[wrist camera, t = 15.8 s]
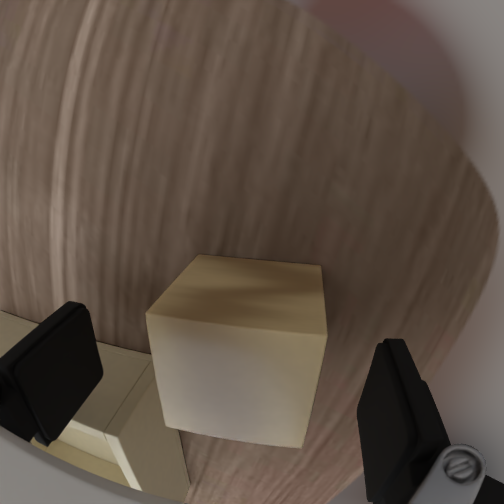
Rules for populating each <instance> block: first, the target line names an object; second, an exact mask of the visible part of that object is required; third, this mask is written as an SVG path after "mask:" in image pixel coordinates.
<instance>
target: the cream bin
mask: <svg viewBox="0 0 504 504" xmlns="http://www.w3.org/2000/svg"><path fill="white" fill-rule="evenodd" d="M38 325H39V324H37V323H34V322H31V321H28V320H25V319H22V318H20V317H17V316H14V315H11V314H9V313H6V312H3V311H0V358H1V357H2V356H3V355H4V354H5V353H6V352H7V351H9V350H10V349H11V348H12V347H13V346H14V345H15V344H17V343H18V342H19V341H20V340H21V339H23V338H24V337H25V336H26V335H27V334H28V333H30V332H31V331H32V330H33V329H34V328H36V327H37V326H38ZM96 343H97V347H98V351H99V355H100V359H101V363H102V366H103V371H104V373H103V377H102V379H101V381H100V382H99V383H98V385H97V386H96V387H95V389H94V390H93V391H92V393H91V394H90V395H89V397H88V398H87V399H86V400H85V402H84V403H83V404H82V406H81V407H80V409H79V410H78V411H77V413H76V414H75V415H74V417H73V418H72V419H71V421H70V422H69V423H68V425H67V426H66V427H65V429H64V430H63V432H62V433H61V434H60V436H59V437H58V438H57V440H55V441H52V442H51V444H50V445H49V446H48V447H46V446H44V445H42V444H40V443H39V442H37V441H36V440H35V438H34V437H33V438H32V440H31V442H32V445H34V446H36V447H38V448H40V449H41V450H43V451H45V452H47V453H49V454H51V455H53V456H55V457H57V458H59V459H61V460H63V461H66V462H68V463H70V464H72V465H74V466H76V467H79V468H81V469H83V470H86V471H88V472H90V473H93V474H95V475H98V476H100V477H103V478H105V479H108V480H111V481H113V482H116V483H119V484H122V485H124V486H127V487H130V488H133V489H136V490H140V491H143V492H146V493H149V494H153V495H156V496H160V497H163V498H167V499H171V500H175V501H179V502H183V503H184V501H185V498H186V496H187V493H188V489H189V487H190V481H189V477H188V473H187V468H186V464H185V459H184V455H183V450H182V445H181V441H180V436H179V431H178V429H175V428H171V427H167V426H165V421H164V417H163V412H162V408H161V403H160V398H159V393H158V388H157V383H156V378H155V373H154V367H153V361H152V355H150V354H146V353H141V352H137V351H133V350H128V349H124V348H120V347H116V346H112V345H108V344H104V343H100V342H97V341H96Z"/></svg>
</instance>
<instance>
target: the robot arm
mask: <svg viewBox="0 0 504 504" xmlns="http://www.w3.org/2000/svg"><path fill="white" fill-rule="evenodd" d="M103 373H104V371H103V366H102V363H101V359H100V355H99V351H98V347H97V343H96V339H95V335H94V331H93V326H92V322H91V317H90V313H89V311H88V309H86V306H85V305H84V304H82V303H77V302H72V301H68V302H67V303H65V304H64V305H63V306H62V307H60V308H59V309H58V310H57V311H55V312H54V313H53V314H52V315H50V316H49V317H48V318H47V319H45V320H44V321H43V322H42V323H41V324H39V325H38V326H37V327H36V328H34V329H33V330H32V331H31V332H30V333H28V334H27V335H26V336H25V337H24V338H23V339H21V340H20V341H19V342H18V343H17V344H15V345H14V346H13V347H12V348H11V349H10V350H9V351H7V352H6V353H5V354H4V355H3V356H2V357H1V358H0V504H187V503H183V502H179V501H175V500H171V499H167V498H163V497H160V496H156V495H153V494H149V493H146V492H143V491H140V490H136V489H133V488H130V487H127V486H124V485H122V484H119V483H116V482H113V481H111V480H108V479H105V478H103V477H100V476H98V475H95V474H93V473H90V472H88V471H86V470H83V469H81V468H79V467H76V466H74V465H72V464H70V463H68V462H66V461H63V460H61V459H59V458H57V457H55V456H53V455H51V454H49V453H47V452H45V451H43V450H41V449H40V448H38V447H36V446H34V445H32V442H31V440H32V438H33V437H34V438H35V440H36V441H37V442H39V443H40V444H42V445H44V446H46V447H48V446H49V445H50V444H51V442H52V441H55V440H57V438H58V437H59V436H60V434H61V433H62V432H63V430H64V429H65V427H66V426H67V425H68V423H69V422H70V421H71V419H72V418H73V417H74V415H75V414H76V413H77V411H78V410H79V409H80V407H81V406H82V404H83V403H84V402H85V400H86V399H87V398H88V397H89V395H90V394H91V393H92V391H93V390H94V389H95V387H96V386H97V385H98V383H99V382H100V381H101V379H102V377H103ZM357 420H358V427H359V434H360V442H361V450H362V458H363V466H364V475H365V484H366V495H367V500H368V502H373V504H504V484H503V483H501V482H499V481H497V480H495V479H493V478H491V477H489V476H487V475H485V474H486V469H487V467H486V461H485V459H484V457H483V455H482V454H481V453H480V452H479V451H478V450H477V449H475V448H474V447H472V446H469V445H466V444H454V445H451V444H450V441H449V438H448V435H447V433H446V430H445V428H444V425H443V422H442V419H441V417H440V414H439V412H438V409H437V407H436V404H435V402H434V399H433V397H432V395H431V392H430V390H429V387H428V385H427V384H426V382H425V381H423V380H421V377H420V375H419V373H418V370H417V368H416V366H415V363H414V361H413V359H412V357H411V354H410V352H409V350H408V348H407V345H406V343H405V341H404V340H403V339H389V338H386V339H384V341H383V343H378V344H377V347H376V350H375V353H374V357H373V360H372V364H371V367H370V370H369V373H368V376H367V380H366V383H365V386H364V389H363V392H362V395H361V398H360V401H359V404H358V407H357Z"/></svg>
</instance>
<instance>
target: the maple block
mask: <svg viewBox="0 0 504 504" xmlns="http://www.w3.org/2000/svg"><path fill="white" fill-rule="evenodd" d="M145 316H146V323H147V330H148V337H149V343H150V349H151V355H152V361H153V367H154V373H155V378H156V383H157V388H158V393H159V398H160V403H161V408H162V412H163V417H164V421H165V426H167V427H171V428H175V429H179V430H183V431H188V432H192V433H197V434H202V435H207V436H212V437H217V438H223V439H228V440H235V441H241V442H248V443H255V444H263V445H271V446H281V447H292V448H302V447H303V444H304V440H305V437H306V433H307V429H308V425H309V421H310V417H311V413H312V408H313V404H314V400H315V396H316V391H317V387H318V382H319V378H320V373H321V368H322V364H323V359H324V354H325V349H326V343H327V338H328V333H327V321H326V310H325V299H324V289H323V279H322V270H321V266H320V265H311V264H300V263H288V262H277V261H266V260H255V259H244V258H233V257H223V256H212V255H201V254H198V255H197V256H196V257H195V259H194V260H193V261H192V262H191V263H190V264H189V265H188V266H187V267H186V268H185V269H184V271H183V272H182V273H181V274H180V275H179V276H178V277H177V278H176V279H175V280H174V282H173V283H172V284H171V285H170V286H169V287H168V288H167V289H166V290H165V292H164V293H163V294H162V295H161V296H160V297H159V298H158V299H157V300H156V302H155V303H154V304H153V305H152V306H151V307H150V308H149V309H148V311H147V312H146V314H145Z"/></svg>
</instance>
